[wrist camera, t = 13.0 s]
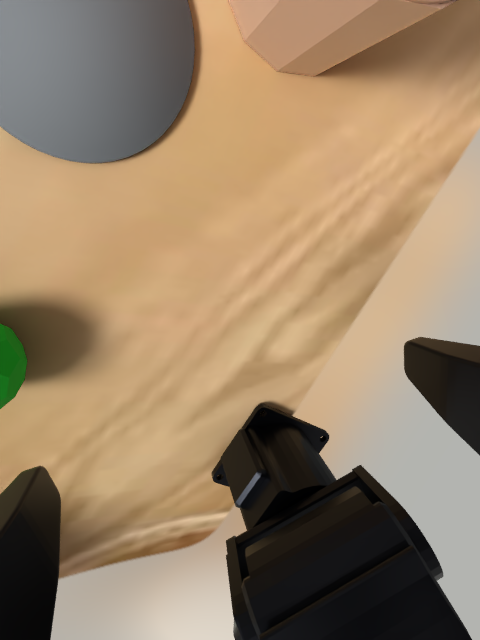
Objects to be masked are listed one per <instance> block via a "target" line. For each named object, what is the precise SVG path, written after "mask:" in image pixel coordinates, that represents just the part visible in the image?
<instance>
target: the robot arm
mask: <svg viewBox="0 0 480 640" xmlns="http://www.w3.org/2000/svg"><path fill="white" fill-rule="evenodd" d="M404 369H405V373H406V375H407V377H408V379H409V380H410V381H411V382H412V383H413V384H414V386H415V387H416V388H417V389H418V390H419V392H421V394H422V395H423V396H424V397H425V399H426V400H427V401H428V402H429V403H430V404H431V406H432V407H433V408H434V409H435V410H436V412H437V413H438V414H439V415H440V416H441V417H442V418H443V420H445V422H446V423H447V424H448V425H449V426H450V427H451V428H452V429H453V430H454V431H455V432H456V433H457V434H458V435H459V436H460V437H461V438H462V439H463V440H465V441H466V443H467V444H469V445H470V446H471V447H472V448H473V449H474V450H475V451H476V452H477V453H478V454H479V455H480V346H477V345H470V344H463V343H457V342H450V341H444V340H437V339H431V338H424V337H418V338H415V339H412V340H410V341H407V342H406V343H405V345H404ZM261 411H264V412H263V413H262V414H260V412H261ZM322 436H323V437H322ZM321 437H322V438H321ZM328 440H329V435H328V433H327V432H326V431H325V430H323V429H320V428H318V427H316V426H314V425H311V424H309V423H307V422H304V421H302V420H300V419H297V418H295V417H293V416H291V415H288V414H286V413H284V412H281V411H279V410H277V409H274V408H272V407H270V406H267V405H265V404H260V405H258V406H257V407H256V408H255V409H254V411H253V412H252V414H251V415H250V416H249V418H248V419H247V421H246V422H245V424H244V425H243V427H242V428H241V429H240V430H239V431H238V433H237V434H236V436H235V437H234V439H233V440H232V442H231V443H230V444H229V446H228V447H227V449H226V450H225V452H224V453H223V455H222V456H221V459H220V461H219V462H218V464H217V465H216V467H215V468H214V470H213V471H212V478H213V481H214V482H216V483H219V484H222V485H225V486H228V487H230V490H231V493H232V496H233V499H234V503H235V506H236V507H238V508H240V510H241V513H242V516H243V519H244V522H245V525H246V529H247V531H246V532H244V533H242V534H240V535H239V536H237V537H236V536H233V537H232V538H230V539H228V540H226V545H227V553H228V554H227V555H226V559H227V567H228V576H229V584H230V592H231V601H232V609H233V616H234V631H233V632H234V638H235V640H472V639H471V637H470V635H469V634H468V631H467V629H466V628H465V626H464V625H463V623H462V621H461V620H460V618H459V617H458V615H457V613H456V612H455V610H454V608H453V607H452V605H451V603H450V602H449V600H448V599H447V597H446V595H445V594H444V592H443V591H442V589H441V587H440V586H439V584H438V582H437V580H439V579H440V578H442V577H443V571H442V568H441V566H440V563H439V561H438V559H437V557H436V555H435V554H434V552H433V550H432V548H431V546H430V545H429V543H428V542H427V540H426V538H425V537H424V535H423V534H422V532H421V531H420V529H419V528H418V526H417V525H416V523H415V522H414V521H413V520H412V518H411V517H410V516H409V514H408V513H407V512H406V510H405V509H404V508H403V507H402V506H401V505H400V504H399V503H398V502H397V501H396V500H395V499H394V498H393V497H392V496H391V495H390V494H389V493H388V492H387V491H386V490H385V489H384V488H383V487H382V486H381V485H380V484H379V483H378V482H377V481H376V480H375V479H374V478H373V477H372V476H371V475H370V474H369V473H368V472H367V471H366V470H365V469H364V468H363V467H362V466H361V465H359V466H357V467H356V468H354V469H352V470H353V471H352V472H350V473H349V474H347V475H345V476H343V477H342V478H340V479H338V480H336V479H335V477H334V476H333V474H332V473H331V471H330V470H329V468H328V467H327V465H326V464H325V462H324V461H323V459H322V458H321V456H320V455H319V453H320V451H321V450H322V448H323V447H324V446H325V444H326V443H327V441H328ZM219 474H221V475H220V476H218V475H219ZM60 520H61V498H60V494H59V491H58V489H57V488H56V486H55V484H54V482H53V480H52V479H51V477H50V475H49V473H48V472H47V470H46V469H45V468H44V467H43V466H37V467H34V468H31V469H29V470H26V471H23V472H21V473H20V474H19V475H18V476H17V477H16V479H15V480H14V481H13V482H12V483H11V484H10V485H9V486H8V487H7V488H6V489H5V490H4V491H3V492H2V493H1V494H0V640H50V638H51V630H52V622H53V615H54V608H55V601H56V593H57V585H58V577H59V563H60Z"/></svg>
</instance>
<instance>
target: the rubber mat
mask: <svg viewBox="0 0 480 640" xmlns="http://www.w3.org/2000/svg"><path fill="white" fill-rule="evenodd" d="M194 52H195V46H194V30H193V23H192V17H191V12H190V8H189V4H188V0H0V126H1V127H2V128H3V129H4V130H5V131H7V132H8V133H9V134H11V135H12V136H14V137H15V138H17V139H18V140H20V141H21V142H23V143H25V144H27V145H29V146H30V147H32V148H34V149H36V150H38V151H41V152H43V153H46V154H48V155H51V156H53V157H57V158H61V159H65V160H69V161H74V162H82V163H104V162H111V161H117V160H120V159H123V158H127V157H130V156H132V155H134V154H136V153H138V152H140V151H142V150H144V149H145V148H147V147H148V146H150V145H151V144H153V143H154V142H155V141H156V140H157V139H158V138H159V137H161V136H162V135H163V134H164V132H165V131H166V130H167V129H168V128H169V127H170V125H171V124H172V123H173V121H174V120H175V118H176V116H177V115H178V113H179V112H180V110H181V108H182V105H183V103H184V101H185V99H186V96H187V93H188V90H189V86H190V83H191V78H192V73H193V67H194Z"/></svg>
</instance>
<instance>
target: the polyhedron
mask: <svg viewBox="0 0 480 640" xmlns="http://www.w3.org/2000/svg"><path fill="white" fill-rule="evenodd" d="M26 366H27V358H26V354H25V351H24V348H23V345H22V344H21V342H20V341H19V339H18V338H17V336H16V335H15V333H14V332H13V330H12V329H11V328H9V327H7V326H4V325H2V324H0V409H1V408H2V407H3V406H5V405H6V404H7V403H8V402H9V401H11V400H12V399H13V398H14V397H15V396H16V394H17V392H18V390H19V389H20V387H21V385H22V383H23V381H24V380H25V373H26Z"/></svg>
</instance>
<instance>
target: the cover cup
mask: <svg viewBox="0 0 480 640" xmlns="http://www.w3.org/2000/svg"><path fill="white" fill-rule="evenodd" d="M228 1H229V3H230V6H231V8H232V11H233V14H234V16H235V19H236V21H237V24H238V27H239V29H240V32H241V34H242V37H243V39H244V42H245V43H246V44H248V45H249V46H250V47H251V48H252V49H253V50H254V51H255V52H256V53H258V54H259V55H260V56H261V57H262V58H263V59H264V60H265V61H266V62H267V63H269V64H270V65H271V66H272V67H273V68H274V69H275V70H276V71H279V72H287V73H294V74H301V75H308V76H316V75H318V74H320V73H321V72H323V71H325V70H327V69H329V68H331V67H333V66H335V65H337V64H339V63H340V62H342V61H344V60H346V59H348V58H350V57H352V56H354V55H356V54H358V53H359V52H361V51H363V50H365V49H367V48H369V47H371V46H373V45H375V44H377V43H378V42H380V41H382V40H384V39H386V38H388V37H390V36H392V35H394V34H396V33H397V32H399V31H401V30H403V29H405V28H407V27H409V26H411V25H413V24H415V23H416V22H418V21H420V20H422V19H424V18H426V17H428V16H430V15H432V14H434V13H435V12H437V11H439V10H441V9H443V8H444V7H446V6H448V5H450V4H452V3H453V2H455V1H457V0H228Z"/></svg>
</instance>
